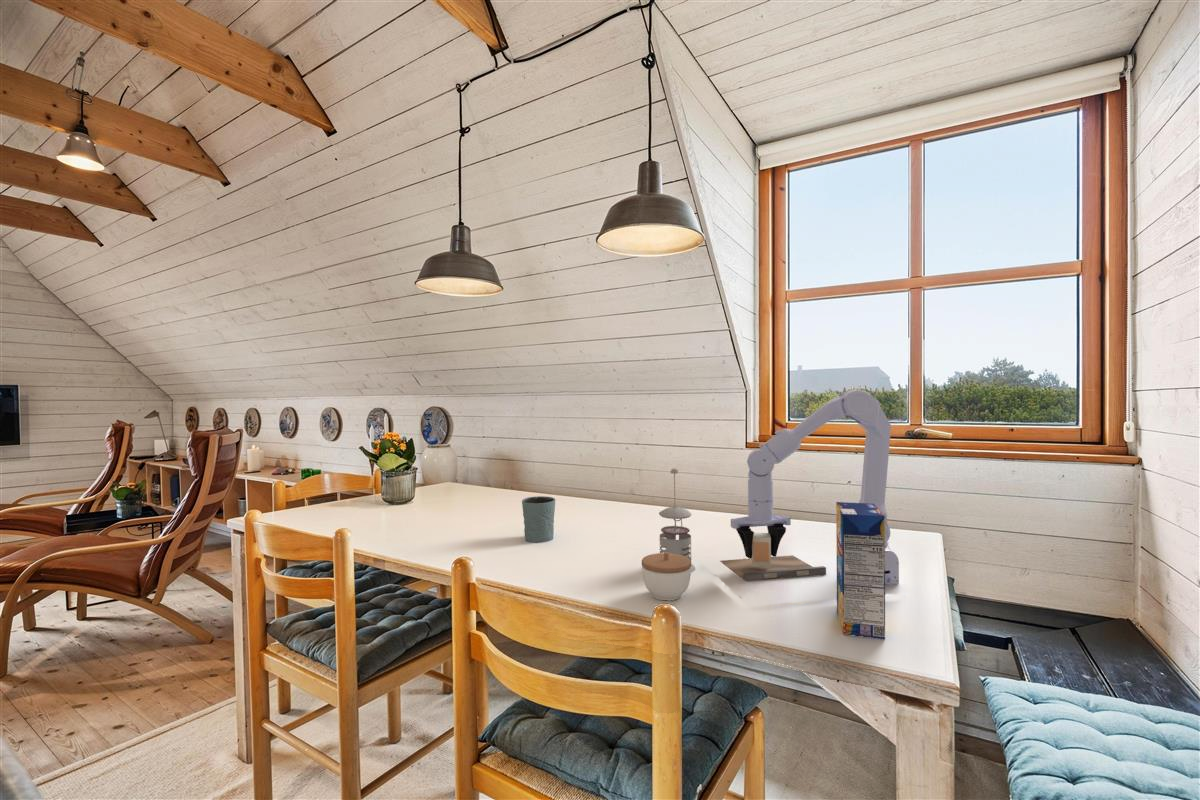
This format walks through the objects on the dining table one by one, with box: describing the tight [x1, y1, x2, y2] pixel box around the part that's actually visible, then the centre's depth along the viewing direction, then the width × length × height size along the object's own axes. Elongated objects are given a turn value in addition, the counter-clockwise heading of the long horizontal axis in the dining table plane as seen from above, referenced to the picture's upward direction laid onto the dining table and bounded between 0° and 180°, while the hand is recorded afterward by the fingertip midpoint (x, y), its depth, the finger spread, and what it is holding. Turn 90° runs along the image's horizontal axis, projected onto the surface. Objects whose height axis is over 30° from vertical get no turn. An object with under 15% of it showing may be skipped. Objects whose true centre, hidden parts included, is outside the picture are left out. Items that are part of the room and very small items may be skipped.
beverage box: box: [835, 501, 886, 640], centre depth 104 cm, size 7×11×22 cm, turn 162°
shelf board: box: [719, 554, 827, 582], centre depth 135 cm, size 15×20×3 cm
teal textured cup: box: [521, 495, 556, 544], centre depth 168 cm, size 10×10×12 cm
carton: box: [751, 532, 772, 568], centre depth 133 cm, size 5×4×7 cm
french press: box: [658, 468, 696, 573], centre depth 140 cm, size 10×12×25 cm
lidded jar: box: [641, 552, 692, 602], centre depth 121 cm, size 11×11×9 cm
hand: (761, 556), depth 133 cm, fingers closed on carton, 5 cm apart
